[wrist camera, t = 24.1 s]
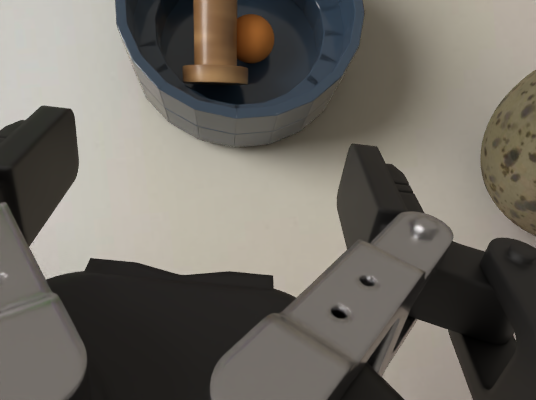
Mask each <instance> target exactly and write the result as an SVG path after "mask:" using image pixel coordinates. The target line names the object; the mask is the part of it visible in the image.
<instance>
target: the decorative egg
mask: <svg viewBox="0 0 536 400" xmlns="http://www.w3.org/2000/svg"><path fill="white" fill-rule="evenodd" d="M481 170H482V176H483V180H484V183H485V185H486V188H487V190H488V192H489V194H490V196H491V198H492V199H493V201H494V203H495V204H496V205H497V207H498V208H499V209H500V210H501V211H502V212H503V214H504V215H505V216H506V217H507V218H509V219H510V220H511V221H512V222H513V223H515V224H516V225H517V226H519V227H520V228H522V229H524V230H525V231H527V232H529V233H531V234H533V235H535V236H536V70H535V71H533V72H532V73H530V74H529V75H528V76H526V77H525V78H524V79H523V80H522V81H520V82H519V83H518V84H517V85H516V86H515V87H514V88H513V89H512V90H511V91H510V92H509V93H508V94H507V95H506V96H505V98H504V99H503V100H502V101H501V103H500V104H499V105H498V107H497V108H496V110H495V112H494V113H493V115H492V117H491V119H490V121H489V123H488V126H487V128H486V131H485V134H484V137H483V141H482V147H481Z"/></svg>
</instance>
